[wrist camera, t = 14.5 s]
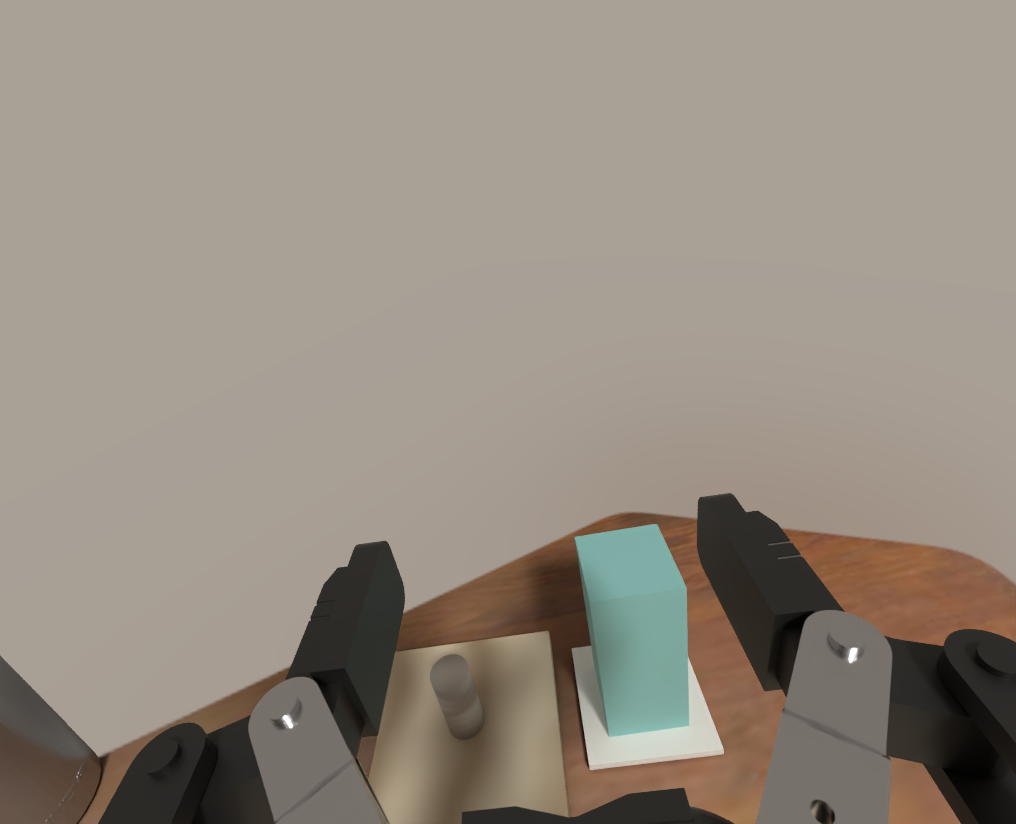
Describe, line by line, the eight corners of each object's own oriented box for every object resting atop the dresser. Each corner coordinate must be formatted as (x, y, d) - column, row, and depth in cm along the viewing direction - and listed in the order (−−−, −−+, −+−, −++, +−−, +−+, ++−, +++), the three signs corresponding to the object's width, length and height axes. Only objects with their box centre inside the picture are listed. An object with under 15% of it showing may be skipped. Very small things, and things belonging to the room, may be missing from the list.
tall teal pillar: (609, 737, 31) (589, 602, 25) (594, 664, 35) (574, 537, 30) (689, 726, 30) (686, 587, 25) (663, 654, 35) (656, 523, 30)
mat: (590, 770, 30) (589, 765, 30) (572, 652, 37) (571, 648, 37) (723, 754, 29) (723, 749, 29) (679, 638, 36) (679, 633, 36)
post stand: (362, 856, 28) (323, 795, 25) (400, 664, 39) (376, 606, 36) (572, 832, 27) (556, 767, 24) (551, 643, 38) (538, 583, 35)
